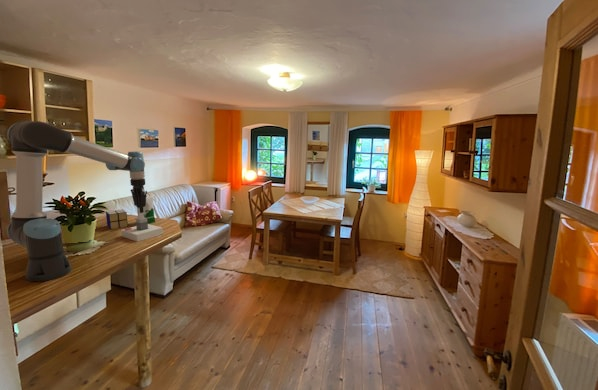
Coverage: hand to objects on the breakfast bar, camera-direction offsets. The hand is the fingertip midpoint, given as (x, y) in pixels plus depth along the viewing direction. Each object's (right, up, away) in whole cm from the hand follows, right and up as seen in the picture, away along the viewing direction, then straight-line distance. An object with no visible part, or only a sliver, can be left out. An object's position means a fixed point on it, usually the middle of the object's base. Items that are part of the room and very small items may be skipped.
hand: (140, 217), depth 179 cm
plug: (0, -10, +2) cm, 10 cm away
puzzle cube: (-25, -7, +19) cm, 32 cm away
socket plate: (0, -11, +2) cm, 11 cm away
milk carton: (-10, -6, +28) cm, 30 cm away
